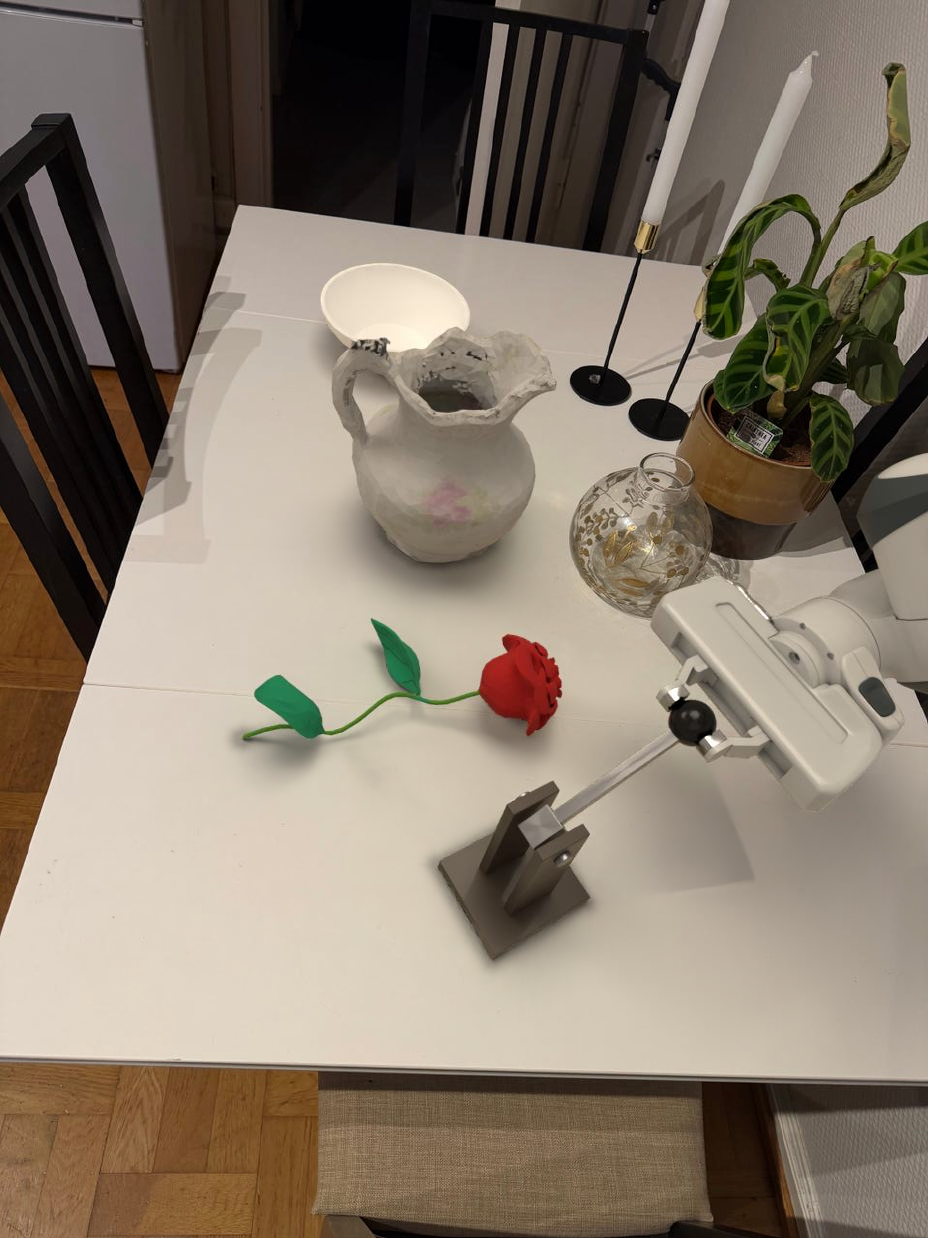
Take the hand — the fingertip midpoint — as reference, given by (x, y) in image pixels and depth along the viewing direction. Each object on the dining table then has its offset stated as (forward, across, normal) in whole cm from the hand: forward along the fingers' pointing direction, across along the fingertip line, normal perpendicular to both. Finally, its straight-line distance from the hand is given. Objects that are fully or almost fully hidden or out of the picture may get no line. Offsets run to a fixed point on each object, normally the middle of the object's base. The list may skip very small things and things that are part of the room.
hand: (683, 726), depth 66 cm
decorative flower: (+12, -21, +19) cm, 31 cm away
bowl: (-14, -70, +19) cm, 74 cm away
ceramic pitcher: (-2, -40, +19) cm, 45 cm away
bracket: (+11, 0, +19) cm, 22 cm away
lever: (+4, 0, +5) cm, 7 cm away
